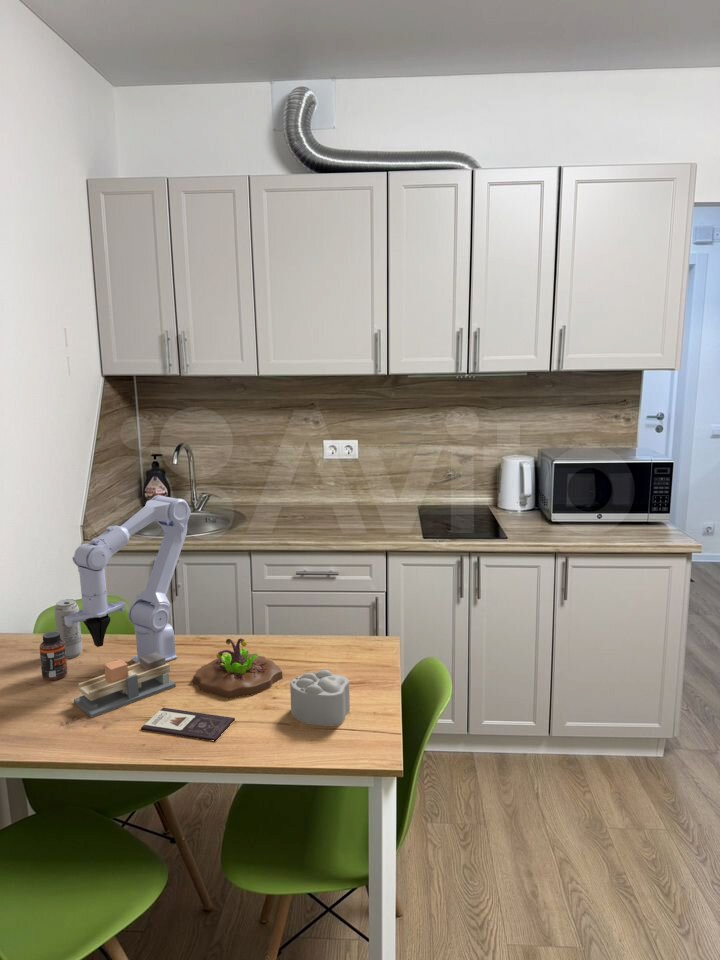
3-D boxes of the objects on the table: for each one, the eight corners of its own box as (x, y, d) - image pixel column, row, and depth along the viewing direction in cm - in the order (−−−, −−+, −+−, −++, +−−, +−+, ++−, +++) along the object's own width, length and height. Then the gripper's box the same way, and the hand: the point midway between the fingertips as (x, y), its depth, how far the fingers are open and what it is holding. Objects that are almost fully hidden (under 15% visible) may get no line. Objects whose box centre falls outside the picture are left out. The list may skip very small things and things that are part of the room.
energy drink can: (77, 648, 197) (72, 596, 194) (86, 654, 193) (81, 602, 190) (55, 654, 193) (50, 602, 190) (64, 661, 189) (58, 608, 186)
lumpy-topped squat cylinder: (339, 728, 154) (339, 691, 152) (283, 721, 157) (282, 684, 156) (352, 705, 164) (352, 670, 162) (299, 698, 167) (298, 664, 165)
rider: (121, 674, 171) (120, 659, 170) (128, 680, 168) (127, 664, 167) (105, 679, 168) (104, 664, 167) (112, 685, 165) (111, 669, 164)
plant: (231, 707, 164) (228, 662, 162) (182, 682, 177) (179, 639, 175) (295, 676, 178) (293, 635, 176) (245, 655, 191) (243, 616, 189)
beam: (157, 668, 179) (156, 650, 178) (170, 676, 175) (169, 658, 174) (79, 696, 165) (77, 677, 165) (91, 705, 161) (89, 686, 160)
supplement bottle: (58, 682, 177) (54, 639, 175) (37, 680, 178) (32, 638, 176) (72, 671, 182) (68, 630, 180) (52, 670, 184) (47, 628, 182)
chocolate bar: (215, 739, 149) (140, 727, 154) (216, 743, 149) (141, 731, 154) (234, 717, 158) (163, 707, 163) (234, 721, 158) (163, 711, 163)
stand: (156, 673, 181) (154, 651, 180) (175, 686, 174) (174, 663, 173) (74, 702, 167) (71, 678, 166) (91, 717, 160) (89, 693, 158)
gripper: (70, 604, 164) (75, 659, 167) (129, 589, 174) (133, 641, 177) (58, 597, 169) (64, 650, 172) (117, 582, 179) (121, 633, 182)
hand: (98, 645), depth 174 cm, fingers closed
